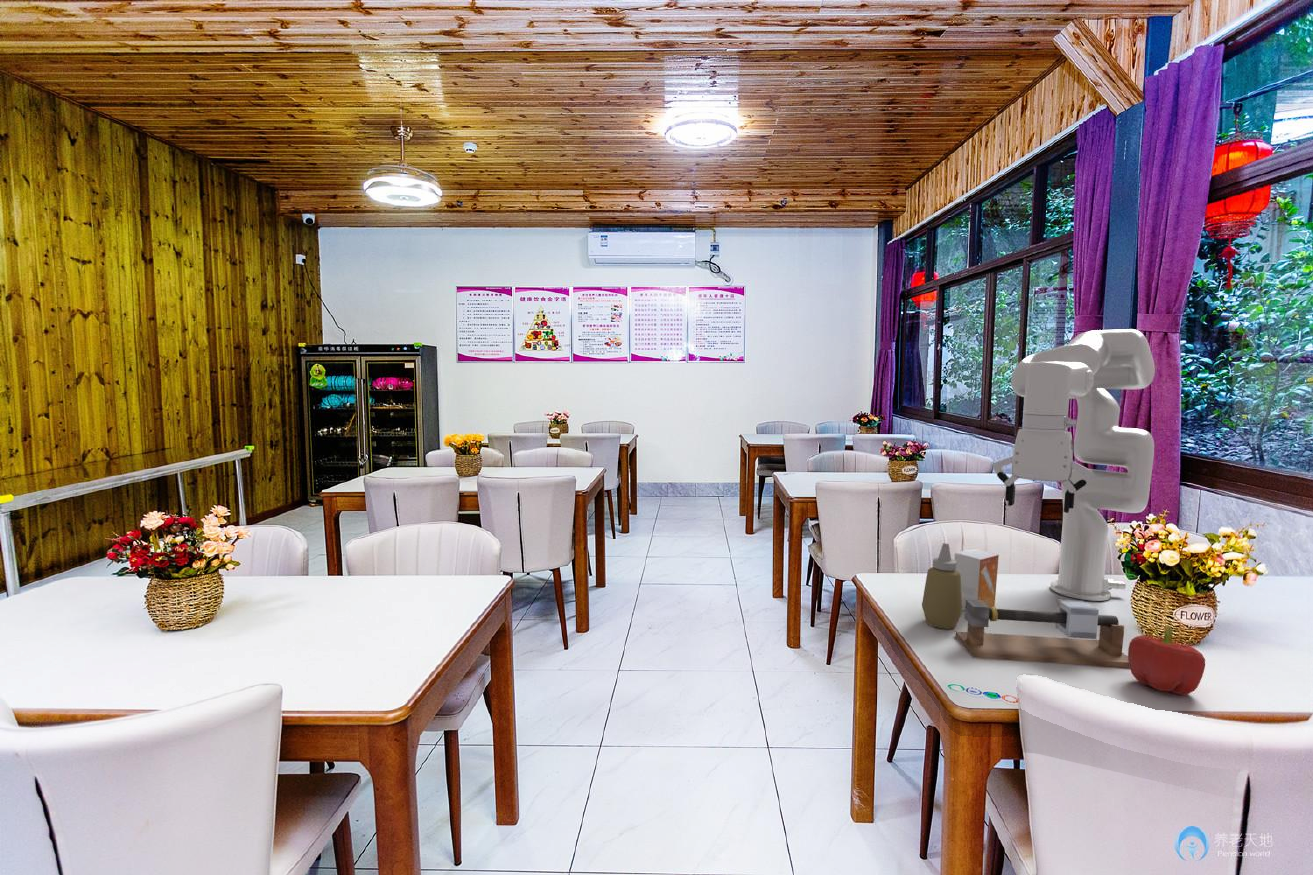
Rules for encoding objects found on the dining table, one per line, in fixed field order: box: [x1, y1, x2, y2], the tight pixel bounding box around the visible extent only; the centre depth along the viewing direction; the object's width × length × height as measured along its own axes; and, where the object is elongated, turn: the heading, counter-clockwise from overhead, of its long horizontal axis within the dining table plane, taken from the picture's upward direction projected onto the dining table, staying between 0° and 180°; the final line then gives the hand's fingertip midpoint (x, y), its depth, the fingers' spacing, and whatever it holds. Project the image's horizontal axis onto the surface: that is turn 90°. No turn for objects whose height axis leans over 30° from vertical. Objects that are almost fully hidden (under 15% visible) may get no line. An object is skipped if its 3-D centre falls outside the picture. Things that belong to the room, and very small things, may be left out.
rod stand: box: [955, 599, 1130, 669], centre depth 122 cm, size 29×10×9 cm, turn 83°
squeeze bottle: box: [921, 542, 963, 630], centre depth 134 cm, size 8×8×18 cm
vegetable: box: [1127, 624, 1206, 696], centre depth 108 cm, size 11×10×10 cm
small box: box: [954, 548, 1000, 611], centre depth 145 cm, size 8×6×13 cm
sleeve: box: [1055, 599, 1100, 640], centre depth 121 cm, size 5×5×6 cm
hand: (1038, 508), depth 125 cm, fingers open, 9 cm apart
